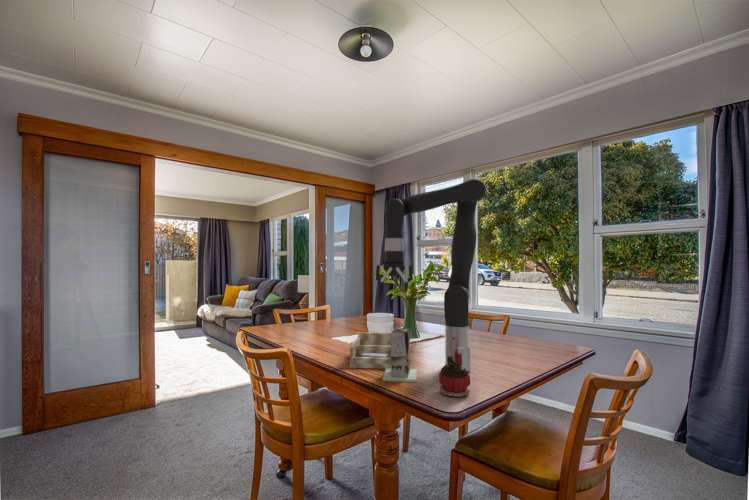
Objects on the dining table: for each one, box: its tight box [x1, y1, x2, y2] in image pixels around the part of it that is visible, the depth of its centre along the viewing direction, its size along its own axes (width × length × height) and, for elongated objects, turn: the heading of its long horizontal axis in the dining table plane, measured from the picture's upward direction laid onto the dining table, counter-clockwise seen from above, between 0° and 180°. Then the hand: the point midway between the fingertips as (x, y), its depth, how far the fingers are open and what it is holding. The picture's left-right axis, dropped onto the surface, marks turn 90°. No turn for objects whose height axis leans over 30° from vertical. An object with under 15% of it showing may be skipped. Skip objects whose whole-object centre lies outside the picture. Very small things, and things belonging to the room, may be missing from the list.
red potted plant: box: [438, 337, 471, 397], centre depth 115 cm, size 11×9×18 cm
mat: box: [382, 368, 418, 383], centre depth 133 cm, size 12×13×1 cm
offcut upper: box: [362, 352, 388, 358], centre depth 146 cm, size 10×4×2 cm, turn 70°
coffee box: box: [390, 327, 411, 378], centre depth 133 cm, size 9×6×16 cm
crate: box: [349, 331, 391, 370], centre depth 152 cm, size 19×21×10 cm
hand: (394, 291), depth 139 cm, fingers open, 8 cm apart
